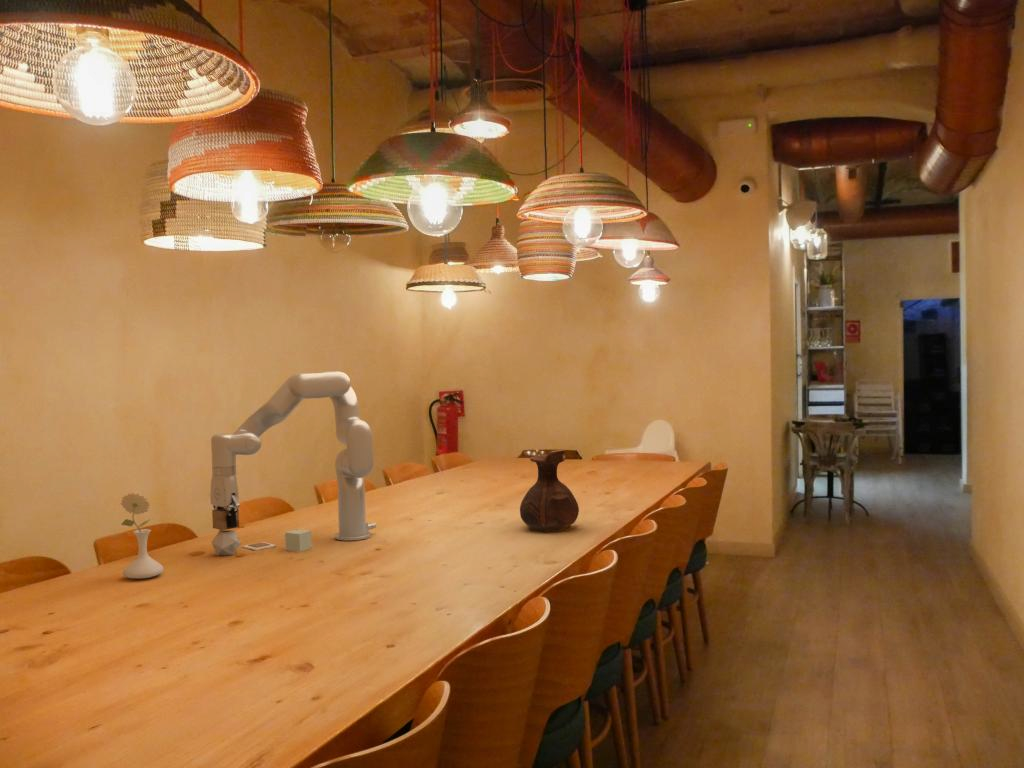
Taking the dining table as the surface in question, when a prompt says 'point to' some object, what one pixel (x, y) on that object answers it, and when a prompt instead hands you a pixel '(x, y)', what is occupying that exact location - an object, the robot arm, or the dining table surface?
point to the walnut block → (222, 519)
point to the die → (226, 542)
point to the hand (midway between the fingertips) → (226, 525)
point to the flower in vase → (139, 540)
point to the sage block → (298, 540)
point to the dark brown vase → (549, 497)
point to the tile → (259, 546)
